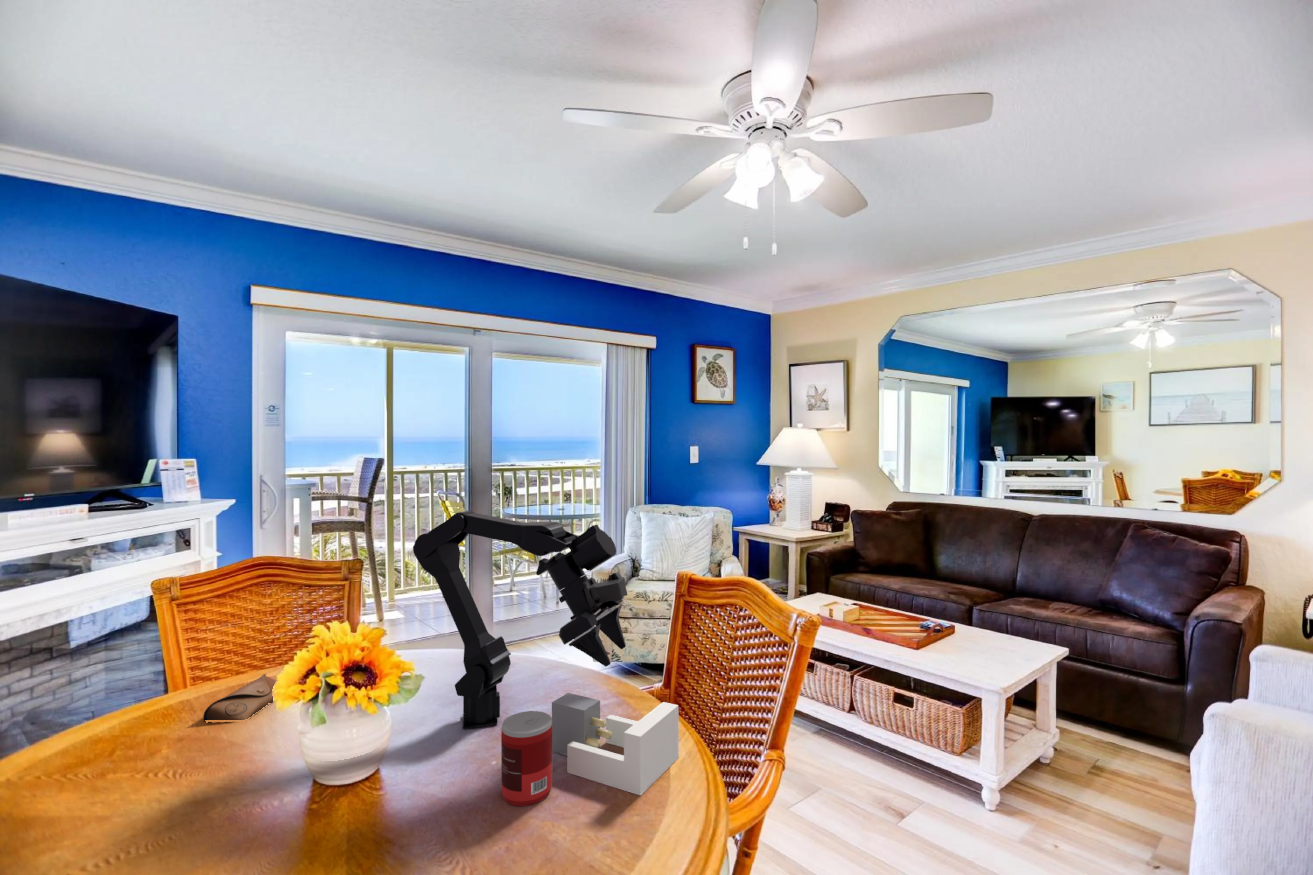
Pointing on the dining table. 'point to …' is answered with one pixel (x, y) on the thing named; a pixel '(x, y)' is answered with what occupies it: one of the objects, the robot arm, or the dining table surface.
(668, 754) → the socket
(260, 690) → the sunglasses case
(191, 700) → the dining table surface
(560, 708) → the plug
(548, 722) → the canned food
